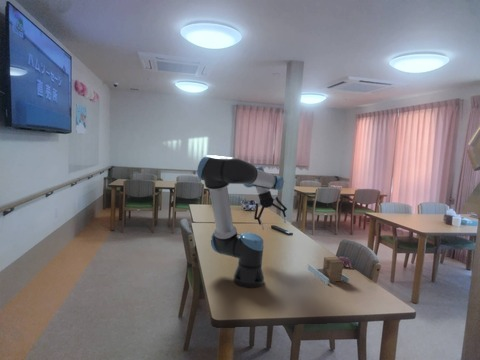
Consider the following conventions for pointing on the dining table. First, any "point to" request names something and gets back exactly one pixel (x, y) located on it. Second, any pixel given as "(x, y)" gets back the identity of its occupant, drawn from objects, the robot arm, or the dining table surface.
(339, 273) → the walnut block
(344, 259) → the video game controller
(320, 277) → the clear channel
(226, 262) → the dining table surface
